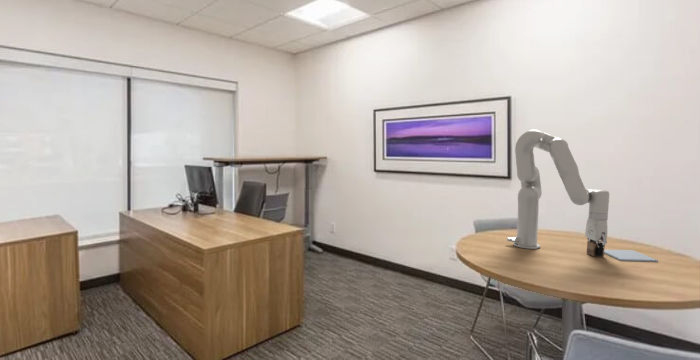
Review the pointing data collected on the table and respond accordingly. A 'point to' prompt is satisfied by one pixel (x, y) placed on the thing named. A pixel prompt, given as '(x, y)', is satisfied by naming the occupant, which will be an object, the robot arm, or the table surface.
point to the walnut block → (592, 248)
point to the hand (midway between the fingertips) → (595, 253)
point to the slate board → (629, 255)
